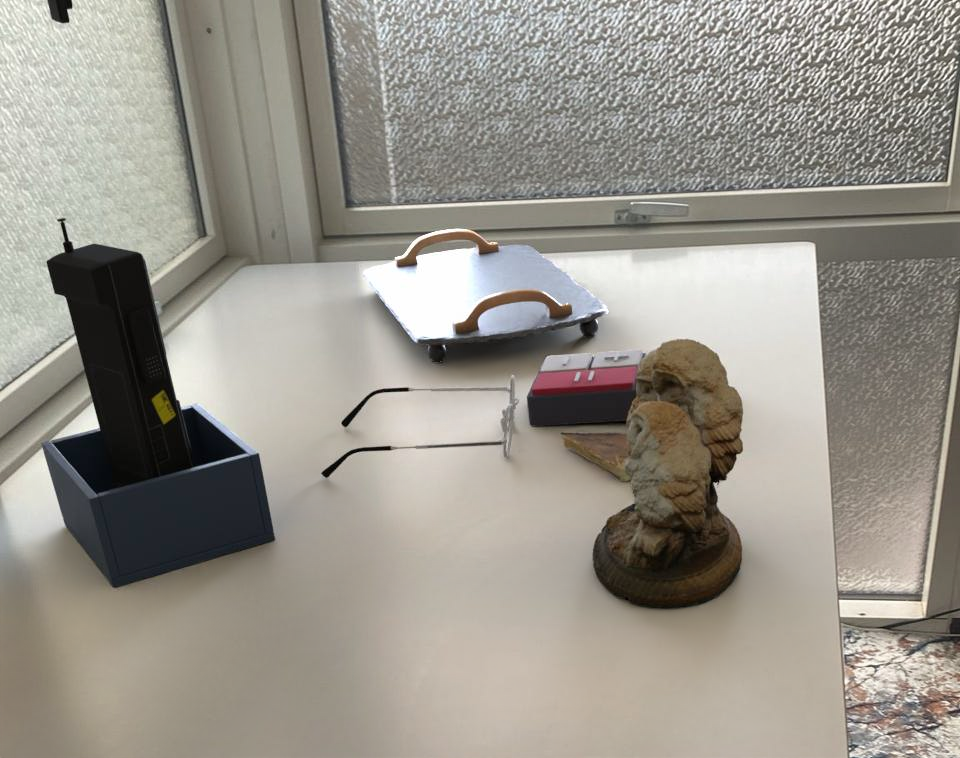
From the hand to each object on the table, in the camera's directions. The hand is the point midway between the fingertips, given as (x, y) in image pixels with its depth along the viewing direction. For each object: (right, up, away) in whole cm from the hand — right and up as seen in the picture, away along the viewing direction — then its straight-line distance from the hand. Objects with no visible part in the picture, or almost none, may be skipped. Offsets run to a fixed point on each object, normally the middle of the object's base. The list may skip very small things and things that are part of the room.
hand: (0, 29), depth 105 cm
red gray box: (+51, -20, +30) cm, 62 cm away
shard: (+50, -29, +18) cm, 61 cm away
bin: (+10, -36, +14) cm, 40 cm away
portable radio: (+10, -36, +14) cm, 39 cm away
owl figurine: (+53, -41, +2) cm, 67 cm away
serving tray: (+38, +1, +58) cm, 70 cm away
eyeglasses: (+33, -25, +25) cm, 48 cm away
